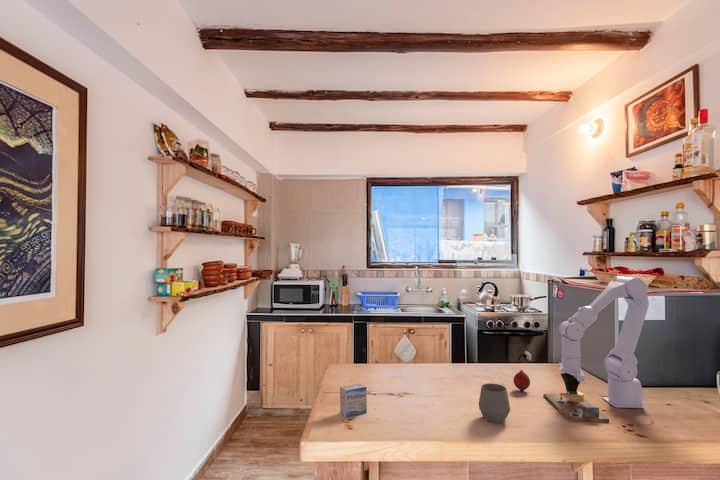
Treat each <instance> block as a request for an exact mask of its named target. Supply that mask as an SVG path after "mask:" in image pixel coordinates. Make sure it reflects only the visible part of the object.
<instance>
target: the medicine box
mask: <svg viewBox="0 0 720 480" xmlns="http://www.w3.org/2000/svg"><path fill="white" fill-rule="evenodd" d="M367 393H368V391H367V386H366V385H365V384H363V383H356V384H350V385H346V386H340V387H339V401H340V402H339V403H340V404H339V412H340V414H342V416H343V417H345V418H347V419H348V418H350V417H354V416H359V415H363V414H367V413H368V409H367V408H368V407H367V406H368V401H367V400H368V399H367V397H368V394H367Z"/></svg>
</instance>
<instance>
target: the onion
mask: <svg viewBox="0 0 720 480" xmlns="http://www.w3.org/2000/svg"><path fill="white" fill-rule="evenodd" d="M513 384H514V386H515V387H516V388H517V389H518V390H519V391H521V392H524V391H526V390H527V389H529V387H530V385H531V380H530V377H529V375H528V374H527V373H525V371H524V369H520V370H519V371H518V372H517V373H516V374H515V375H514V376H513Z"/></svg>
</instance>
